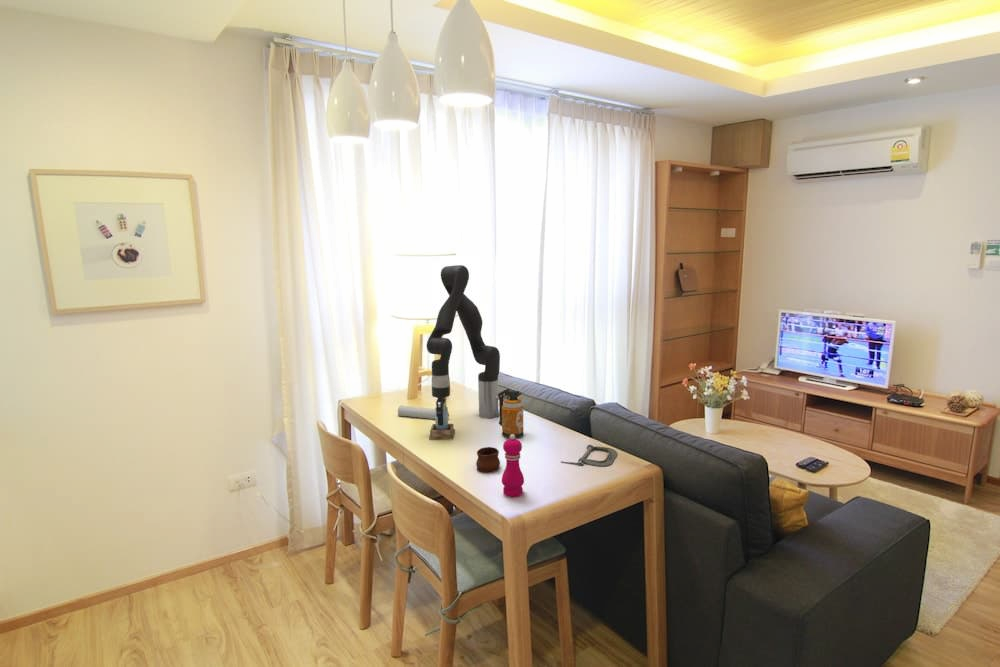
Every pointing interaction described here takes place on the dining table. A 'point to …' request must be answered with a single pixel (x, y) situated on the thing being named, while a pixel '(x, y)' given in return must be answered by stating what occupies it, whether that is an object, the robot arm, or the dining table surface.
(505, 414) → the canister
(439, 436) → the holder
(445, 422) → the roll
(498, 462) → the ceramic pot
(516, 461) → the pepper mill
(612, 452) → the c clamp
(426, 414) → the tube
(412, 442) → the dining table surface
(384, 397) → the dining table surface
